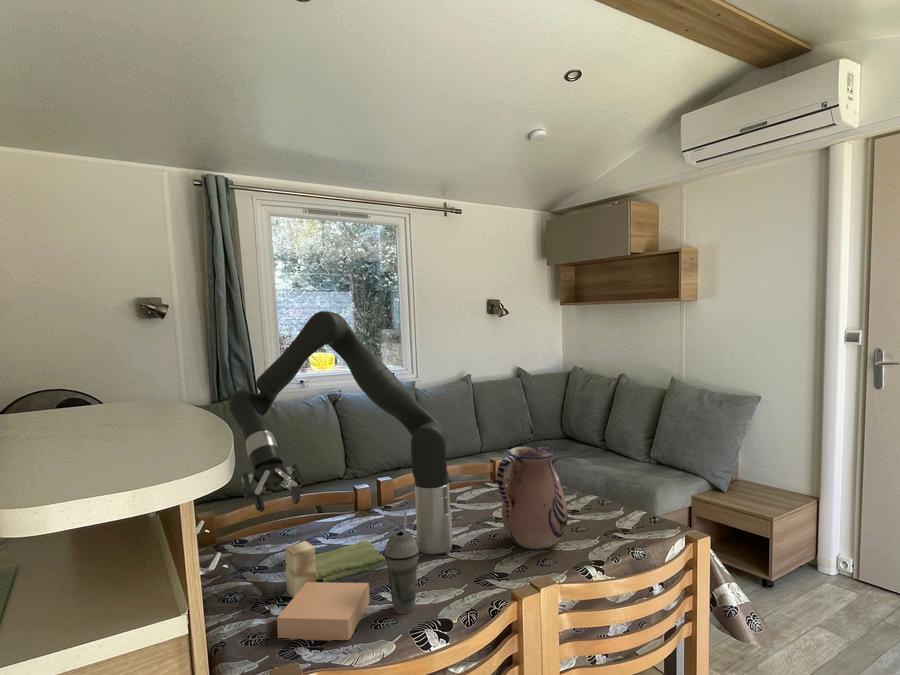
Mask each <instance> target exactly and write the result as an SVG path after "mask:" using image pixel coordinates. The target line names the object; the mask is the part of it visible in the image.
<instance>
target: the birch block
mask: <svg viewBox="0 0 900 675" xmlns="http://www.w3.org/2000/svg"><path fill="white" fill-rule="evenodd" d="M284 549H285V550H284V552H285V553H284V554H285V575H286V576H285V577H286V578H285V579H286V580H285V581H286V592H287V593H288V594H290V596H291V597H292V599H293V598H294V597H295V596H296V594H297V593H298V592H299V591H300V590H301V588H302V587H303V586H304V585H305V583H306V582H317V579H316V563H315V555H316V547H315V546H314V545H312V544H311V543H310V542H308V541H307V540H305V541H304V540H303V541H301V542H298V543H295V544H290V545H287V546H285V547H284Z"/></svg>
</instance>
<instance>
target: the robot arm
mask: <svg viewBox="0 0 900 675" xmlns="http://www.w3.org/2000/svg"><path fill="white" fill-rule="evenodd" d="M325 345H327V346H328V347H329V348H331V350H333V351H334V352H335V353H336V354H338V355H339V357H340V358H341V359H342V360H343V361H344V362H345V364H346V366H347V368H348V369H349V372H350V373H351V375H352V377H353V379H354V381H355V383H356V385H358V387H359V388H360V389H361V391H362V392H363V393H364V394H365V395H366V396H367V397H368V398H369V399H370V401H372V402H373V403H374V404H375V405H376V406H377V407H379V408H380V409H381V410H383V411H384V412H385V413H387V414H388V415H390V416H391V417H393V418H394V419H396V420H397V421H399V422H400V423H401V424H402V425H403V427H404V428H405V429H406V430H407V431H408V433H409V434H410V435H411V436H412V437H411V440H410V454H411V455H410V457H411V469H412V476H413V479H414V495H415V496H414V497H415V498H414V499H415V520H416V521H415V522H416V523H415V524H416V525H415V526H416V542H417V545H418V549H419V553H422V554H426V555H438V554H444V553H450V552H451V550H452V547H453V543H454V540H453V519H452V518H453V516H452V508H451V501H450V479H449V478H450V477H449V472H448V468H447V451H446V449H447V448H448V444H449V438H450V437H449V434H448V430H447V429H446V428H445V427H444V426H443V424H441V423H440V422H439V421H438V420H437V419H436V418H434V417H433V415H431V414H430V413H429V412H428V411H427V410H425V409H424V408H423V407H422V406H421V405H420V403H419V402H418V401H417V400H416V399H415V397H413V396H412V394H411V393H410V391H408V389H407V388H406V387H405V386H404V385H403V384H402V382H401V381H400V380H399V379H398V378H397V376H396V375H395V374H394V373H393V372H392V371H391V370H390V369H389V368H388V366H387V365H386V364H384V363H383V361H381V360H380V358H378V356H376V355H375V354H374V352H372V350H370V349H369V348H368V347H367V346H366V345H365V343H364V342H362V341H361V338H359V337H358V336H357V334H356V333H355V332H354V330H353V329H352V328H351V326H350V324H348V322H347V321H346V319H345V318H344V317H343V316H342V315H340V314H339V313H336V312H333V311H326V310H322V311H318V312H316V313H314V314H312V316H310V318H309V319H308V320H307V322H306V323H305V324H304V326H303V327H302V329H301V330H300V332H299V333H298V335H296V337H295V338H294V340H293V341H292V342H291V343H290V345H289V346H288V347H286V349H285V350H284V352H283V353H281V354H280V355H279V357H277V359H276V360H275V361H274V362H273V363H272V364H271V365H270V366H269V367H268V368H266V369H265V371H263V372H262V373H261V374H260V375H259V376H258V377H257V379H256V381H255V386H256V388H257V390H258V391H259V393H255V392H253V391H249V390H246V389H239V390H236V391H234V393H232V395H231V396H230V398H229V402H228V404H229V411H230V414H231V415H232V417H233V419H234V420H235V422H236V424H237V425H238V426H239V428H240V430H241V431H242V434H243V438H244V442H245V446H246V452H247V453H246V454H247V457H248V459H249V463H250V467H251V470H252V472H253V473H249V474H248V473H247V472H244V473H242V476H241V480H240V481H241V486H242V487H241V488H242V492H243V498H244V499H246V500H249V499H252V500H253V502H254V505H255V509H256V510H257V511H259V513H263V512H265V504H264V500H263V497H262V494H261V493H262V491H263V489H264V488H265V489H270V488H273V487H274V488H276V487H279V486H281V487H282V488H284V489H288V490H289V491H290V495H291V498H292V502H293V504H294V505H297V504H299V501H300V499H301V494H300V491H299V489H300V488H301V487H302V485H303V483H304V479H303V476H302V474H301V471H300V470H299V467H298V465H297V464H296V463H293V464H292V465H291V466H288V467H286V466H285V465H284V462H283V459H282V455H281V452H280V449H279V446H278V443H277V440H276V438H275V435H274V434H273V432H272V428H271V425H270V423H269V420H268V419H267V418H266V417H265V415H267V413H269V410H270V408H271V407H272V405H273V403H274V401H275V399H277V396H278V395H279V393H281V392H282V391H283V390H284V389H285V388H286V387H287V386H288V385H289V384H290V383H291V381H292V380H293V379H295V377H296V376H297V374H298V373H299V371H300V369H301V368H302V366H303V365H304V363H306V361H307V360H308V359H309V358H310V357H311V356H312V355H313V354H314V353H316V352H317V351H318V350H320V349H321V348H323V347H324V346H325ZM287 473H288V474H289V475H288V474H287ZM291 477H292V478H291ZM252 480H253V481H254V482H256V483H257V486H256V488H255V490H252V488H251V482H252Z"/></svg>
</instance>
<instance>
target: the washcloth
mask: <svg viewBox="0 0 900 675" xmlns="http://www.w3.org/2000/svg"><path fill="white" fill-rule="evenodd" d="M385 562H386V558H385V555H383V554H382V553H381V552H379V551H378V550H376V548H375V546H374V545H373V543H372V542H370V541H368V540H362V541H360V542H358V543H355V544H351V545H346V546H343V547H339V548H337V549H336V548H335V549H334V550H329V551H326V552H325V551H324V552H322V553H321V552H320V553H317V554H315V563H316V580H322V582H328V583H330V582H332V581H336V580H339V579H343V578H345V577H349V576H352V575H355V574H359V573H362V572H366V571H369V570H372V569H376V568H380V567H382V566H383V565H384V564H385Z"/></svg>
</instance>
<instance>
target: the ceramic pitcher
mask: <svg viewBox="0 0 900 675" xmlns="http://www.w3.org/2000/svg"><path fill="white" fill-rule="evenodd" d="M507 454H508V456H505V457H504V458H503V459H502V460H501V461H499V462H498V468H497V469H496V482H497V485H498V491H499V494H500V496H501V498H502V504H501V505H502V506H501V521H502V524H503V527H504V529H505V531H506V533H507V534H508V536H509V537H510V539H511V540H512V541H513V542H515V544H517V545H519V546H521V547H522V548H525V549H530V550H541V549H542V550H543V549H548V548H550V547H553V546H554V545H555V544H557V543H558V542H559V541H560V540H561V539H562V537H563V536H564V534H565V531H566V529H567V526H568V521H569V520H568V517H569V516H568V507H567V501H566V499H565V494H564V492H563V488H562V485H561V482H560V478H559V476H558V474H557V472H556V471H555V468H554V465H553V464H552V463H553V462H552V461H553V460H552V459H553V458H554V455H555V453H554V452H553V451H551V448H550V447H549V446H538V447H537V448H533V447H531V446H526V445H524V446H516V447H512V448H511V449H508V450H507ZM510 465H512V466H511V470H510V473H509V478H508V481H507V484H506V481H505V474H506V471H507V469H508V466H510Z"/></svg>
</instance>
